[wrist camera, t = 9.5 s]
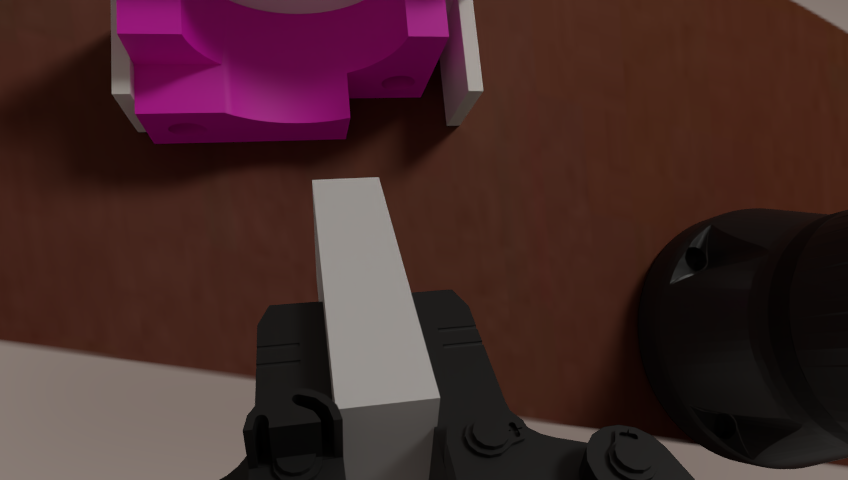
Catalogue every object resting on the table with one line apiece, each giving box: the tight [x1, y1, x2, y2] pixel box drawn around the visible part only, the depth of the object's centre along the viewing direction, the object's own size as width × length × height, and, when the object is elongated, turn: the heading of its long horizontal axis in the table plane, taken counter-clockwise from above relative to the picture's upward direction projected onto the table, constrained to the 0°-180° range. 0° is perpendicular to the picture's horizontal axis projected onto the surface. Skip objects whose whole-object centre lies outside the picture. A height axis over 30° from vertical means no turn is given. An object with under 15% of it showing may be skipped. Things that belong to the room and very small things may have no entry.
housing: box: [111, 0, 483, 132], centre depth 31 cm, size 7×18×11 cm, turn 95°
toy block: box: [116, 0, 449, 144], centre depth 33 cm, size 15×6×8 cm, turn 95°
